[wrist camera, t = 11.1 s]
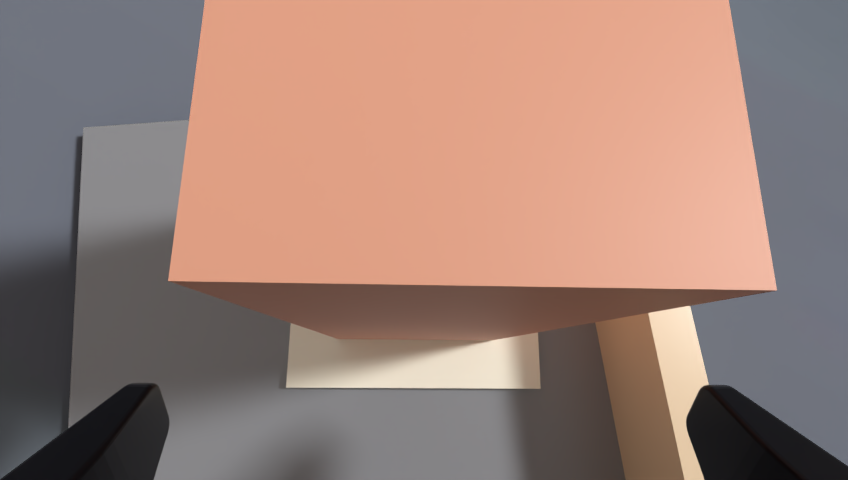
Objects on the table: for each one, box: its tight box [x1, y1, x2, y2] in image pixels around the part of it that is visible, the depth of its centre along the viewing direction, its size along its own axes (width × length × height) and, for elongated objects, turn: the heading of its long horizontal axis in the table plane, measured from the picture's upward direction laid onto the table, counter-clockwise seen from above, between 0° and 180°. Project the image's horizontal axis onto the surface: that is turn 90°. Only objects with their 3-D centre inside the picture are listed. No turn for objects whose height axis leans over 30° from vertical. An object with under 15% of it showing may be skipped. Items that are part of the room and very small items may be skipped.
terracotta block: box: [168, 0, 777, 340], centre depth 10 cm, size 5×5×12 cm
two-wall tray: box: [68, 120, 709, 480], centre depth 14 cm, size 18×18×4 cm
